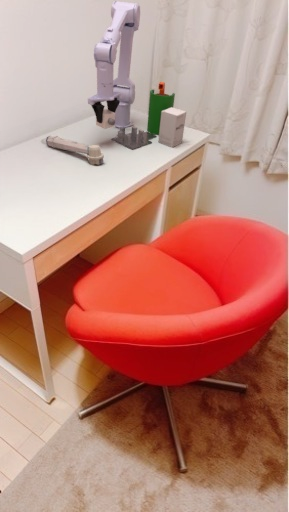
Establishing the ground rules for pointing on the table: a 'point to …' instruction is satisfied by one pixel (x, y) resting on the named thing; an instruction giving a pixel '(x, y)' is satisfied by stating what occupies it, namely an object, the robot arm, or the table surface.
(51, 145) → the beige long angled cylinder
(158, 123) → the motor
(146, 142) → the grey peg tray
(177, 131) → the supplement box
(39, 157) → the table surface
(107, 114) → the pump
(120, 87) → the robot arm
